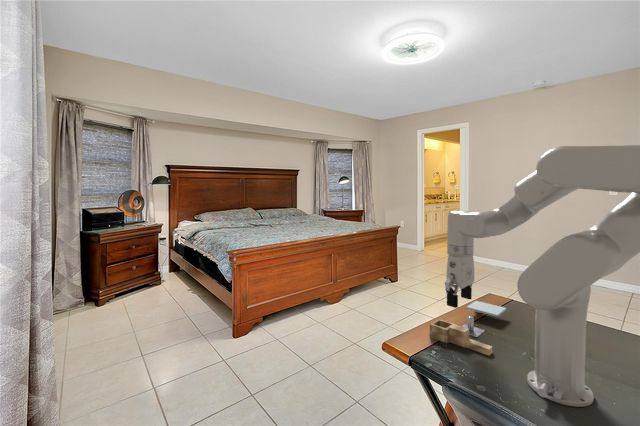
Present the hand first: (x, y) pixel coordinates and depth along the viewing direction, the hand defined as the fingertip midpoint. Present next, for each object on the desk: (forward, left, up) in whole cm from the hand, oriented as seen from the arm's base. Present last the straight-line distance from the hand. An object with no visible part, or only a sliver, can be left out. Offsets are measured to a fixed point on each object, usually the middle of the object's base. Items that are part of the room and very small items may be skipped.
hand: (459, 302), depth 95 cm
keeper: (+26, +2, -14) cm, 29 cm away
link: (0, 0, -14) cm, 14 cm away
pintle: (+11, +1, -14) cm, 17 cm away
